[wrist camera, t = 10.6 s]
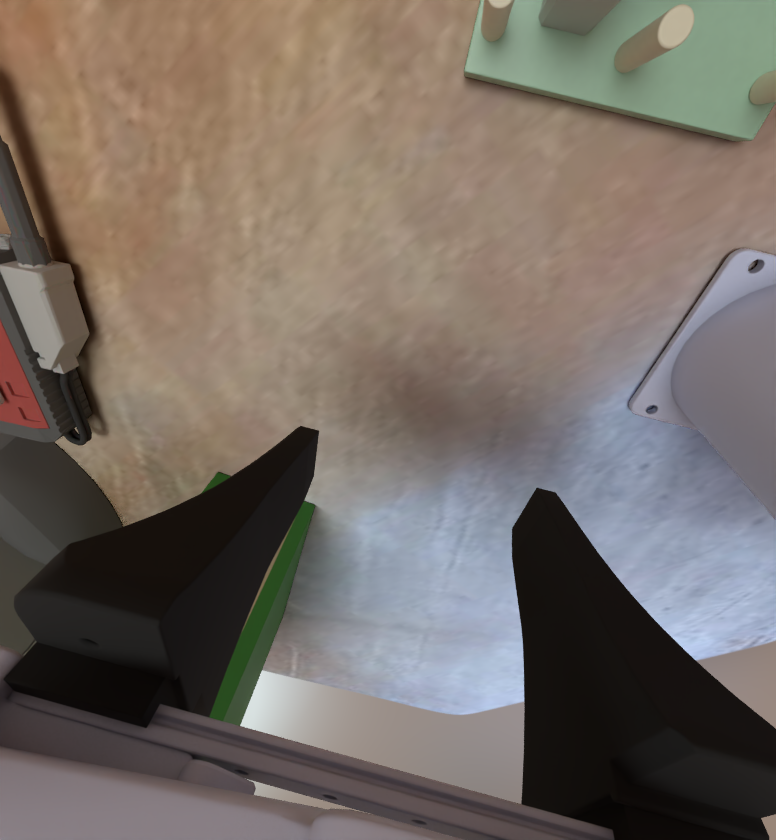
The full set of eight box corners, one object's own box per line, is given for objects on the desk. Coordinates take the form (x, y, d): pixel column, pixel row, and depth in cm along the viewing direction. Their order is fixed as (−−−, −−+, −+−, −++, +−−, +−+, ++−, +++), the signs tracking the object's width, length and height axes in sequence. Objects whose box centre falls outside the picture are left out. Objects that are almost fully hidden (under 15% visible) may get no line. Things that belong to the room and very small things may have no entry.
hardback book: (217, 471, 28) (-357, 1207, 8) (315, 505, 28) (-21, 1290, 9) (210, 594, 38) (-57, 1056, 19) (282, 617, 38) (93, 1096, 19)
